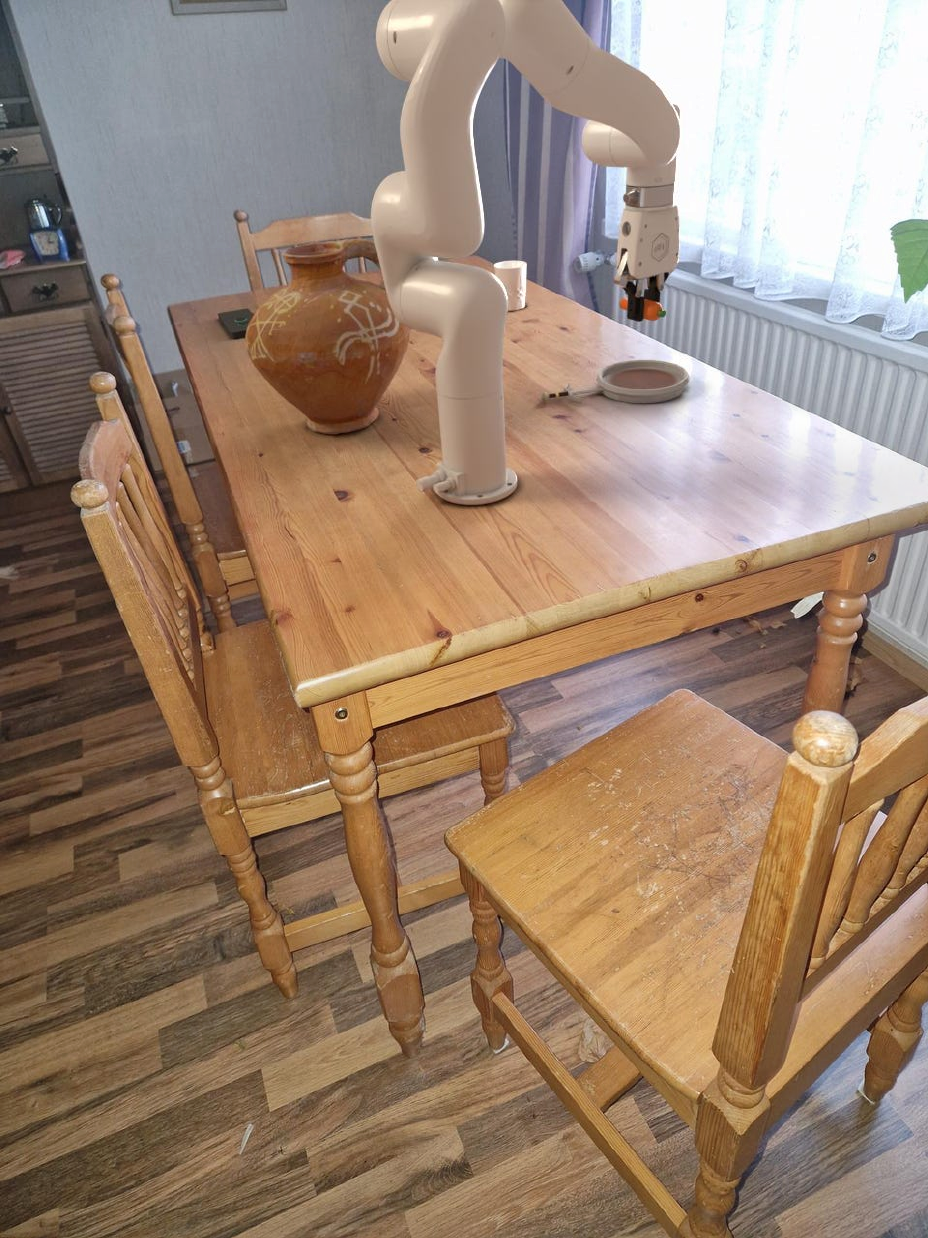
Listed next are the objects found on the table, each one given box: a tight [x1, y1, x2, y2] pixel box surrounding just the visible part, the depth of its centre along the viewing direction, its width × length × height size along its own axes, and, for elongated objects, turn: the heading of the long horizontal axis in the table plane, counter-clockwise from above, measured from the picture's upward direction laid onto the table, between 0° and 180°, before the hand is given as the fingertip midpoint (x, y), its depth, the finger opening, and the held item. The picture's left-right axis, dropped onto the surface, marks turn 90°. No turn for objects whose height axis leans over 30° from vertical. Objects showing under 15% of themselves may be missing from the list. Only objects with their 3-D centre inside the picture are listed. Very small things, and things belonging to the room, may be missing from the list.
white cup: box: [493, 260, 527, 312], centre depth 198 cm, size 8×8×10 cm
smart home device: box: [217, 307, 254, 340], centre depth 203 cm, size 8×2×20 cm
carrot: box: [618, 297, 667, 322], centre depth 136 cm, size 10×3×3 cm, turn 35°
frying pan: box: [541, 359, 691, 404], centre depth 150 cm, size 17×3×28 cm
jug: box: [244, 238, 411, 435], centre depth 139 cm, size 28×28×30 cm
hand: (642, 316), depth 136 cm, fingers closed on carrot, 3 cm apart
